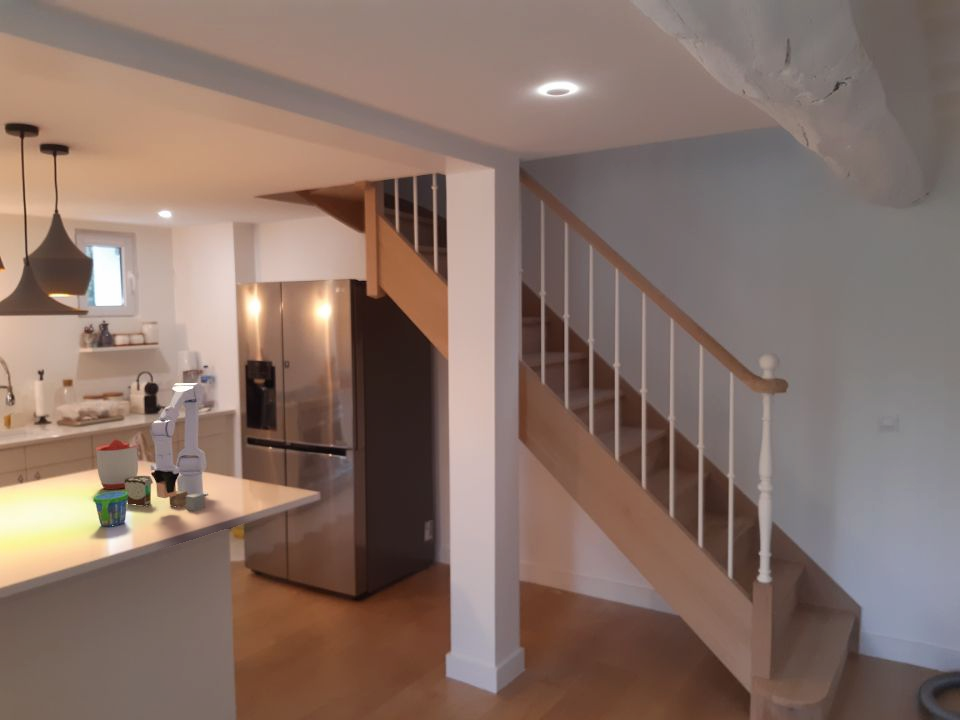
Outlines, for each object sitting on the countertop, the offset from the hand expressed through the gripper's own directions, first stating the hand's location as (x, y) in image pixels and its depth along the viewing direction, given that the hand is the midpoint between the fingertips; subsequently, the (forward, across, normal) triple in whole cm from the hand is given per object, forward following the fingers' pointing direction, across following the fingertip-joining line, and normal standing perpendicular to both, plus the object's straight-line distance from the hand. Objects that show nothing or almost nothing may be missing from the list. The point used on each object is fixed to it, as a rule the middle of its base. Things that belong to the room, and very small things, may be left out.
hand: (166, 491), depth 262 cm
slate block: (+8, +5, +8) cm, 12 cm away
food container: (+8, -20, +3) cm, 22 cm away
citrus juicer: (+8, -55, +15) cm, 58 cm away
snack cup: (+8, -4, -18) cm, 20 cm away
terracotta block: (+2, 0, 0) cm, 2 cm away
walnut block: (+8, -5, +8) cm, 12 cm away
